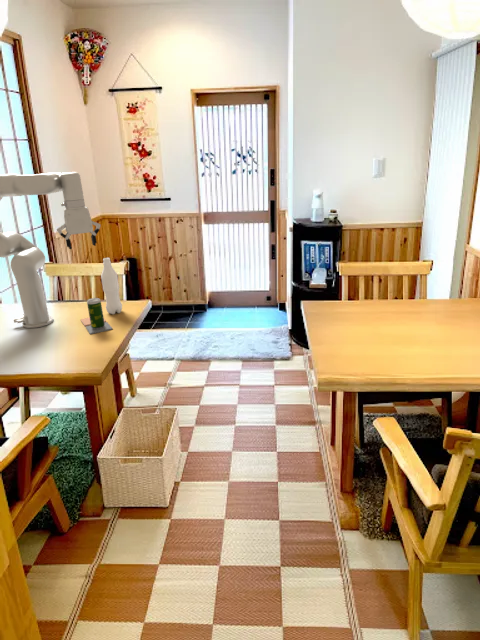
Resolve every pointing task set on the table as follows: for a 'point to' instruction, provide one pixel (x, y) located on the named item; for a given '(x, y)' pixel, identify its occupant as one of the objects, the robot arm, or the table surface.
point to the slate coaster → (105, 328)
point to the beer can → (95, 313)
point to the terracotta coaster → (87, 321)
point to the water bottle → (111, 287)
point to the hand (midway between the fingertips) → (82, 246)
